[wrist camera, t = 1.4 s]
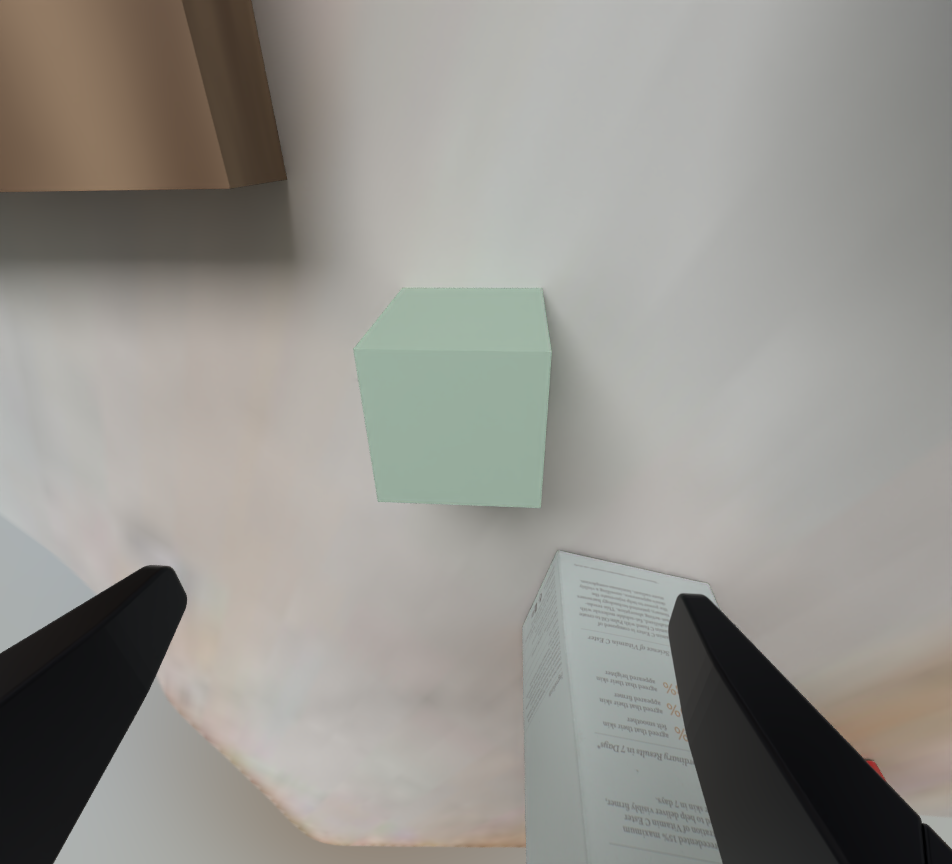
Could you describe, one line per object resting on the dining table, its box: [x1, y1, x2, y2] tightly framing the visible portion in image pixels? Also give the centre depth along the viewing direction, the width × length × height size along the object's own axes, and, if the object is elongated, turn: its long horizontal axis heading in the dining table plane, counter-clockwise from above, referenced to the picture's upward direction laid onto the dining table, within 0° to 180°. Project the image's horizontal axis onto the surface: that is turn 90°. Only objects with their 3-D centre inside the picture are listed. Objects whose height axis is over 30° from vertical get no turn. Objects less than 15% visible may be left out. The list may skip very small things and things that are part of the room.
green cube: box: [353, 288, 552, 508], centre depth 16 cm, size 5×5×6 cm
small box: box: [522, 551, 723, 864], centre depth 19 cm, size 8×6×13 cm
